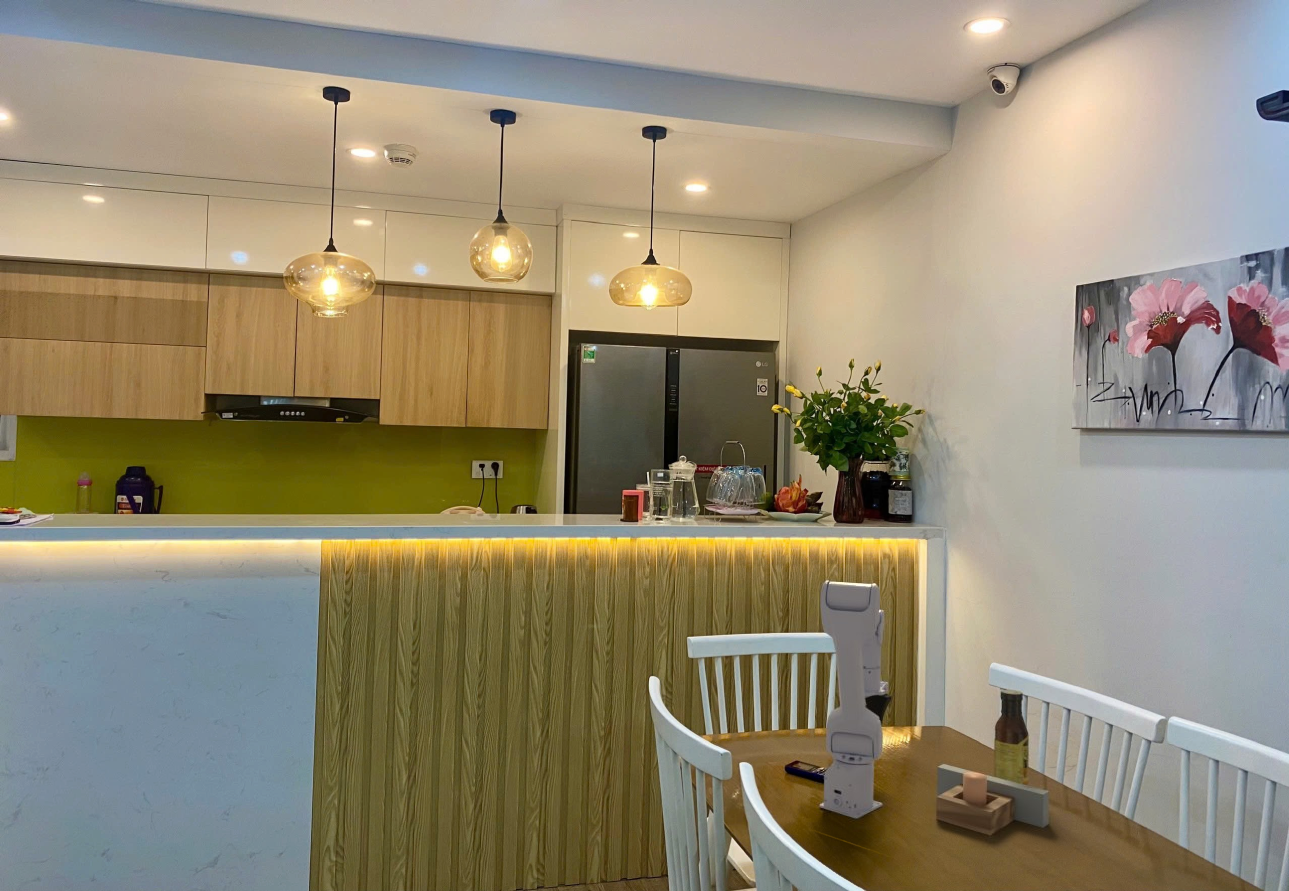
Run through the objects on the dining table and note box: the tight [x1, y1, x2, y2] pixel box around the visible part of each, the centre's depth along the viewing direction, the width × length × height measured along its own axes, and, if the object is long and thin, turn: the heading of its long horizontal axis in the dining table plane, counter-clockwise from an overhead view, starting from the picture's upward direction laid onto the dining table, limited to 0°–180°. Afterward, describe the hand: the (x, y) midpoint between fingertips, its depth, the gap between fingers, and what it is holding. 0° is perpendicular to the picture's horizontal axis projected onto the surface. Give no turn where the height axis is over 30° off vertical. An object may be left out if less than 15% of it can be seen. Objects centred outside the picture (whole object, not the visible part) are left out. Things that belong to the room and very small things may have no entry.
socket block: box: [935, 784, 1015, 836], centre depth 171 cm, size 10×10×4 cm
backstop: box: [936, 763, 1050, 829], centre depth 175 cm, size 2×20×6 cm, turn 46°
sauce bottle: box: [993, 689, 1030, 786], centre depth 184 cm, size 7×6×20 cm
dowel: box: [963, 771, 987, 806], centre depth 171 cm, size 4×4×7 cm
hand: (864, 733), depth 191 cm, fingers open, 7 cm apart
